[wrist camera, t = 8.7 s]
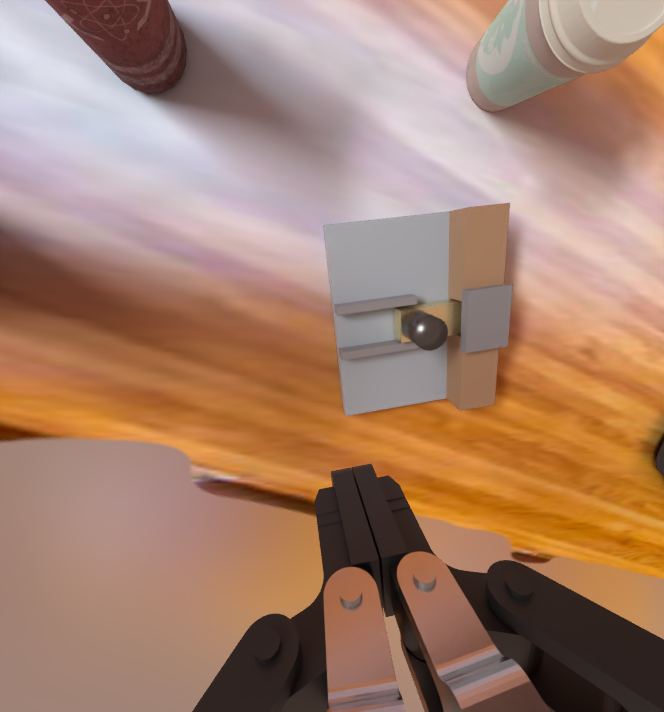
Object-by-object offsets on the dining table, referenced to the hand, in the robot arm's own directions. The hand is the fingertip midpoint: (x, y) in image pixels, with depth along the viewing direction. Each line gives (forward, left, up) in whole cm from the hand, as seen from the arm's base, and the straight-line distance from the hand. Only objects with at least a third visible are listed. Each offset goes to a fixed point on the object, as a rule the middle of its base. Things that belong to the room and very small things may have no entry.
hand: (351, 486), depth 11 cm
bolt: (+14, 0, -21) cm, 25 cm away
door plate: (+11, 0, -23) cm, 25 cm away
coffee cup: (+20, +21, -23) cm, 37 cm away
